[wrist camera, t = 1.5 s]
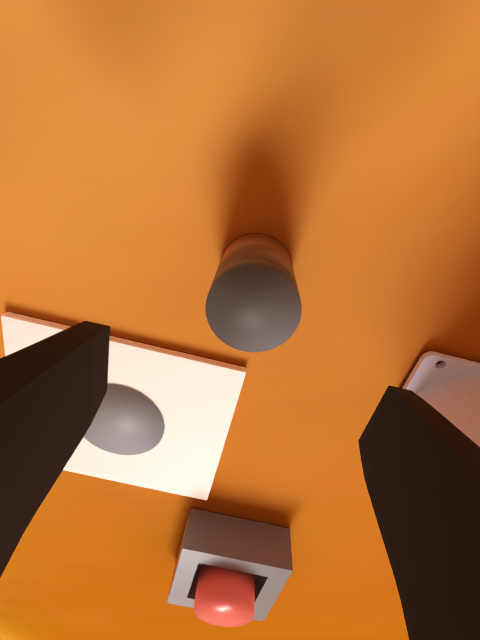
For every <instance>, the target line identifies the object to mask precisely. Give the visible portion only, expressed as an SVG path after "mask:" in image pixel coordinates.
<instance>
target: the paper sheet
mask: <svg viewBox="0 0 480 640" xmlns="http://www.w3.org/2000/svg"><path fill="white" fill-rule="evenodd" d="M1 319H2V329H3V338H4V348H5V356H7V355H10V354H12V353H14V352H16V351H19V350H21V349H23V348H25V347H28V346H30V345H32V344H34V343H36V342H39V341H41V340H43V339H45V338H47V337H50V336H52V335H54V334H56V333H58V332H61V331H63V330H65V329H67V328H70V327H71V326H67V325H63V324H58V323H54V322H50V321H46V320H41V319H37V318H33V317H28V316H24V315H20V314H16V313H11V312H6V313H4V314H3V315H1ZM245 374H246V367H242V366H238V365H233V364H229V363H225V362H221V361H216V360H212V359H208V358H203V357H199V356H195V355H191V354H186V353H182V352H178V351H174V350H169V349H165V348H161V347H157V346H152V345H148V344H144V343H139V342H135V341H131V340H127V339H122V338H118V337H114V336H110V339H109V361H108V384H107V392H106V394H105V396H104V398H103V401H102V403H101V405H100V407H99V409H98V411H97V413H96V415H95V418H94V420H93V422H92V424H91V426H90V427H89V429H88V431H87V432H86V434H85V435H84V437H83V439H82V440H81V442H80V443H79V445H78V447H77V448H76V450H75V451H74V453H73V455H72V456H71V458H70V459H69V461H68V462H67V464H66V466H65V467H64V469H63V470H65V471H70V472H75V473H79V474H84V475H89V476H94V477H98V478H103V479H108V480H112V481H117V482H122V483H127V484H131V485H136V486H141V487H145V488H150V489H155V490H160V491H164V492H169V493H174V494H179V495H183V496H188V497H193V498H197V499H202V500H207V499H208V496H209V492H210V489H211V486H212V483H213V479H214V476H215V473H216V469H217V466H218V463H219V460H220V456H221V453H222V450H223V447H224V443H225V440H226V437H227V433H228V430H229V427H230V424H231V420H232V417H233V414H234V411H235V407H236V404H237V401H238V397H239V394H240V391H241V388H242V384H243V381H244V378H245Z"/></svg>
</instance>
